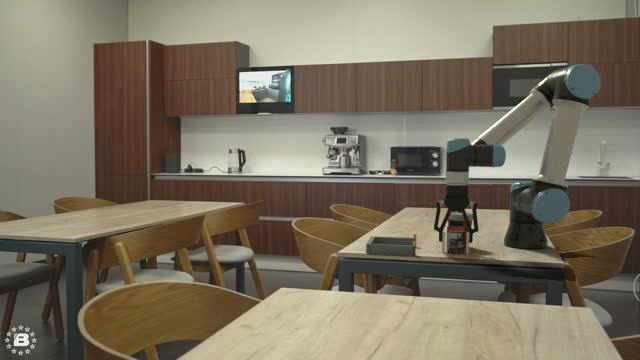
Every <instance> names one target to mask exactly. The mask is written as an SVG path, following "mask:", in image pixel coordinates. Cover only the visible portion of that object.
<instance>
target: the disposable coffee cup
mask: <svg viewBox="0 0 640 360" xmlns="http://www.w3.org/2000/svg"><path fill="white" fill-rule="evenodd" d="M466 214H467V217H468V220H469V222H470V225H471V227H472V225H473V213H472V212H466ZM450 219H461V220H462V225H463V226H464V227H465V249H466V234H467V233H469V231H468V228H467V225H466V223H465V220H464V217H463V215H462V212H451V214H450V216H449V218H448V221H447V224H448V226H449V225H450ZM448 226H447V227H448Z"/></svg>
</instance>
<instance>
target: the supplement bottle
mask: <svg viewBox="0 0 640 360" xmlns="http://www.w3.org/2000/svg"><path fill="white" fill-rule="evenodd" d="M446 252H447V253H448V254H454V255H462V254H465V253H466V248H465V227H464V226H463V225H462V220H461V219H450V225H449V226H447V227H446Z"/></svg>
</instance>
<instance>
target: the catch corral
mask: <svg viewBox="0 0 640 360" xmlns="http://www.w3.org/2000/svg"><path fill="white" fill-rule="evenodd" d="M416 249H417V233H413V237H399V236H397V237H396V236H395V237H394V236H372V235H371V236H370V237H369V239H368V241H367V242H366V245H365V253H366V254H378V253H385V254H384V255H403V256H404V255H405V256H407V255H409V256H416Z"/></svg>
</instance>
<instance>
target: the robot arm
mask: <svg viewBox="0 0 640 360" xmlns="http://www.w3.org/2000/svg"><path fill="white" fill-rule="evenodd" d="M601 81H602V80H601V76H600V74H599V73H598V71H597V69H595V67H593V66H591V65H590V64H585V63H579V64H578V63H577V64H572V65H570V66H567V67H563V68H558V69H556V70H554V71H552V72H550V73H549V74H548V75H547V76H545V78H543V79H542V80H541V81H540V82H539V83H538V84H536V86H534V87H533V88H532V89H531V90H530V91H529V95H528V96H527V97H525V98H524V99H523V100H522V101H521V102H520V103H519V104H517V105H516V106H514V107H513V108H512V109H511V110H510V111H508V112H507V113H506V114H505V115H504V116H503V117H501V118H500V119H499V120H498V121H496V122H495V123H494V124H493V125H492V126H491V127H489V128H488V129H487V130H486V131H484V132H483V133H482V134H481V135H479V136H478V137H477V138H476V139H475V140H474V141H473V142H471V140H470V139H469V138H462V137H461V138H459V137H457V138H456V137H455V138H449V139H447V142H446V149H445V152H446V155H445V157H446V158H445V160H446V161H445V163H446V164H445V165H446V166H445V168H446V169H445V170H446V171H445V183H446V185H445V193H444V195H445V197H444V199H442V200H436V202H435V205H436V211H435V218H434V224H433V230H434V231H435V232H438V241H439V243H441V252H442V253H445V247H446V246H445V245H446V244H445V243H446V242H445V241H446V237H445V236H446V232H445V231H444V230H445V228H446V225H447V224H448V218H449V216H450V214H451V212H462V215H463V217H464V220H465V223H466V225H467V228H468V231H469V233H467V234H466V248H465V253H466V254H469V253H470V244H473V238H474V233H479V231H480V230H479V223H478V214H477V213H478V212H477V209H478V205H479V204H478V203H477V201H472V200H471V201H470V199H469V188H470V187H469V186H468V184H469V183H470V182H469V181H470V180H469V179H470V168H474V167H475V168H476V167H477V168H501V167H503V166H504V164H505V162H506V158H507V153H506V149H505V147H504V146H503V145H504V144H506V143H507V142H508V141H509V140H511V138H513V137H514V136H515V135H516V134H518V133H519V132H520V131H521V130H522V129H524V128H525V127H526V126H528V125H529V123H531V122H532V121H533V120H534V119H536V118H537V117H539V116H540V115H541V114H542V113H543V112H544V111H545V112H546V111H550V110H551V109H552V108H554V113H553V116H552V120H551V124H550V128H549V132H548V136H547V139H546V143H545V147H544V148H545V149H544V152H543V156H542V160H541V163H540V167H539V168H540V169H539V173H538V175H536V177H534V178H532V181H527V182H526V181H525V182H524V181H523V182H515V183H512V184H511V185H510V190H509V223H508V224H509V225H508V227H507V229H506V232H505V235H504V238H503V245H504V246H506V247H510V248H516V249H528V250H529V249H530V250H534V249H535V250H536V249H540V250H541V249H546V248H548V247H549V245H548V242H549V240H548V237H547V235H546V234H547V233H546V231H545V230H546V229H545V228H544V224H545V223H547V224H553V223H557V222H559V221H561V220H563V219H564V218H565V217H566V216H567V215H568V213H569V210H570V205H571V202H570V198H569V196H568V194H567V193H568V189H569V186H568V184H567V182H566V177H567V173H568V170H569V165H570V162H571V158H572V157H571V156H572V154H573V151H574V146H575V141H576V138H577V133H578V131H579V127H580V122H581V117H582V114H583V112H584V111H586V110H587V109H589V106H590V102H591V98H593V97H595V95H597V94H598V93H599V92H600V91H599V90H600V88H601V84H602V83H601ZM443 205H445V206H446V208H447V210H446V213H445V215H444V217H443V220H442V222H441V224H440V226H439V223H440V222H439V220H440V215H441V210H442V209H441V208H442V207H443ZM468 206H470V208H471V213H472V214H473V220H472V223H473V228H472V226H471V225H470V222H469V220H468V217H467V214H466V213H467V212H466V210H465V209H466V208H467V207H468Z"/></svg>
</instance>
